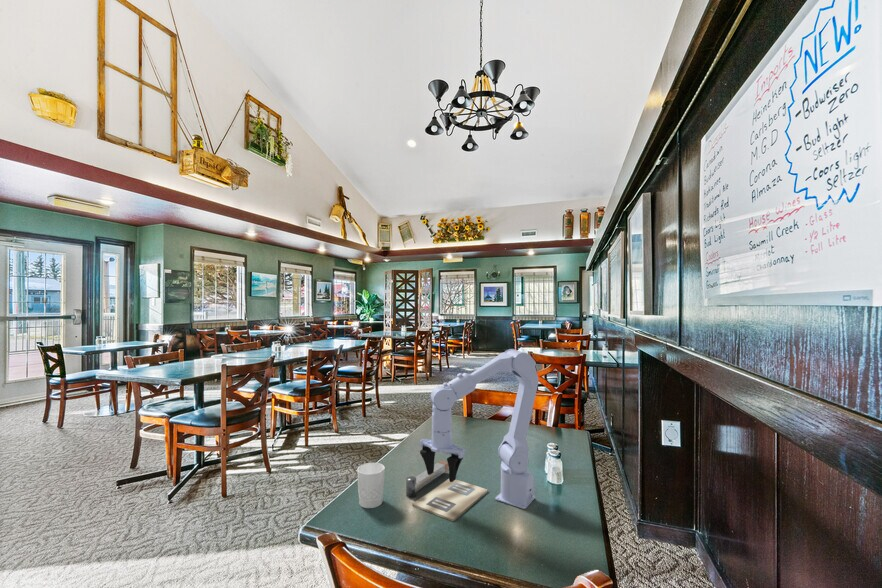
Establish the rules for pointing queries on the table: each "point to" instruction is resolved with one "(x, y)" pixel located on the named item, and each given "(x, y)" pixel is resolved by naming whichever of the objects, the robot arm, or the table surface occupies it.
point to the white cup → (370, 484)
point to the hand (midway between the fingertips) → (441, 477)
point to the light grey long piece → (424, 478)
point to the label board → (450, 499)
